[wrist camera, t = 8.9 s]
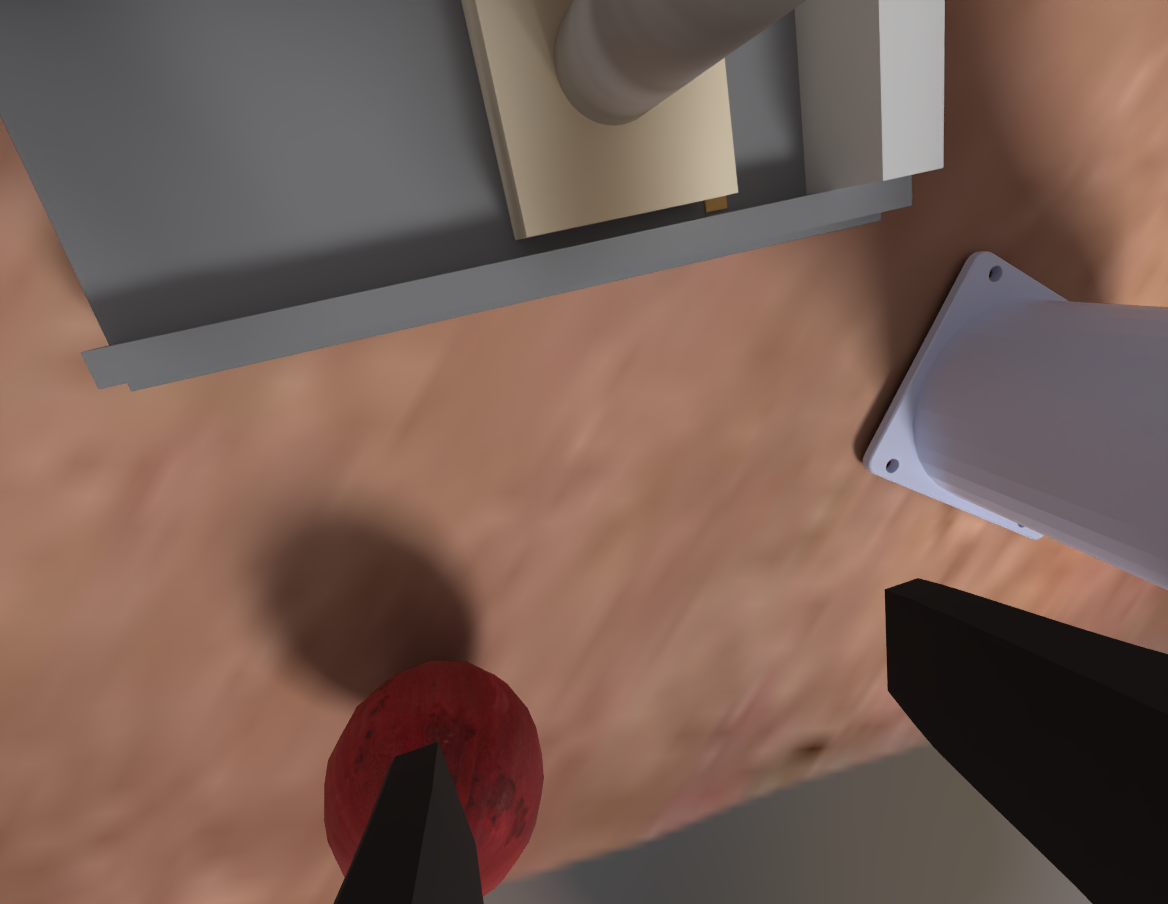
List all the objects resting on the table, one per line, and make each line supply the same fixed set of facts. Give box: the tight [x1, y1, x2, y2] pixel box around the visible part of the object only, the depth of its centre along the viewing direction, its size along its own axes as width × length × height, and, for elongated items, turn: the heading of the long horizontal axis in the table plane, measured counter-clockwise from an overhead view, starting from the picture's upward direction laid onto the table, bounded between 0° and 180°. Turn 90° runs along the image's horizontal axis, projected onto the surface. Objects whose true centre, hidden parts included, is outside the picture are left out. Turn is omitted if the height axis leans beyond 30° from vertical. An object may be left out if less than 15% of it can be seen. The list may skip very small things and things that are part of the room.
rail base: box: [0, 0, 945, 392], centre depth 13 cm, size 20×9×4 cm, turn 102°
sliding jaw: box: [461, 0, 806, 240], centre depth 10 cm, size 5×6×8 cm
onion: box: [324, 661, 544, 896], centre depth 16 cm, size 6×6×8 cm
